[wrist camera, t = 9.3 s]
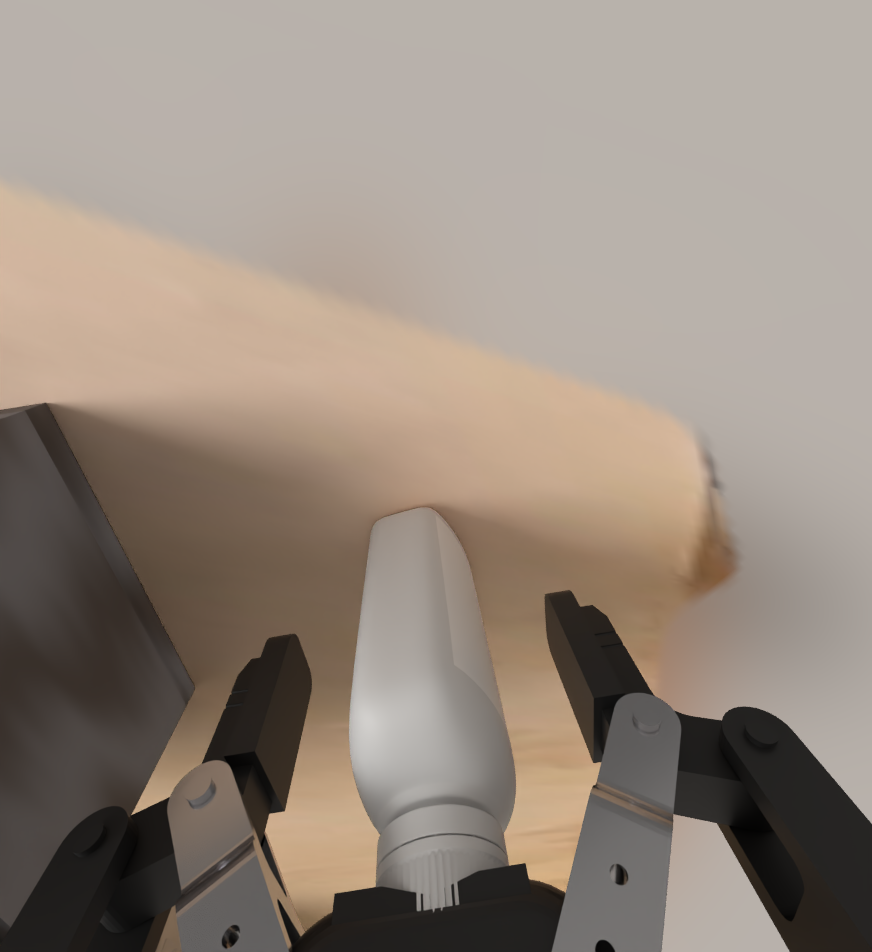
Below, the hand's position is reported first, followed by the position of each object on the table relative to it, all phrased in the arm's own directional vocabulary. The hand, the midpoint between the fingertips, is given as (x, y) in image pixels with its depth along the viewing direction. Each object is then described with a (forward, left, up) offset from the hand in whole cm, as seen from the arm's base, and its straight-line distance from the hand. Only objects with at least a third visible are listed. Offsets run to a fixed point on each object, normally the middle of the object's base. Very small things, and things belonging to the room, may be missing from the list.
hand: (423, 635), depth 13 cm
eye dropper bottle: (0, 0, -4) cm, 4 cm away
